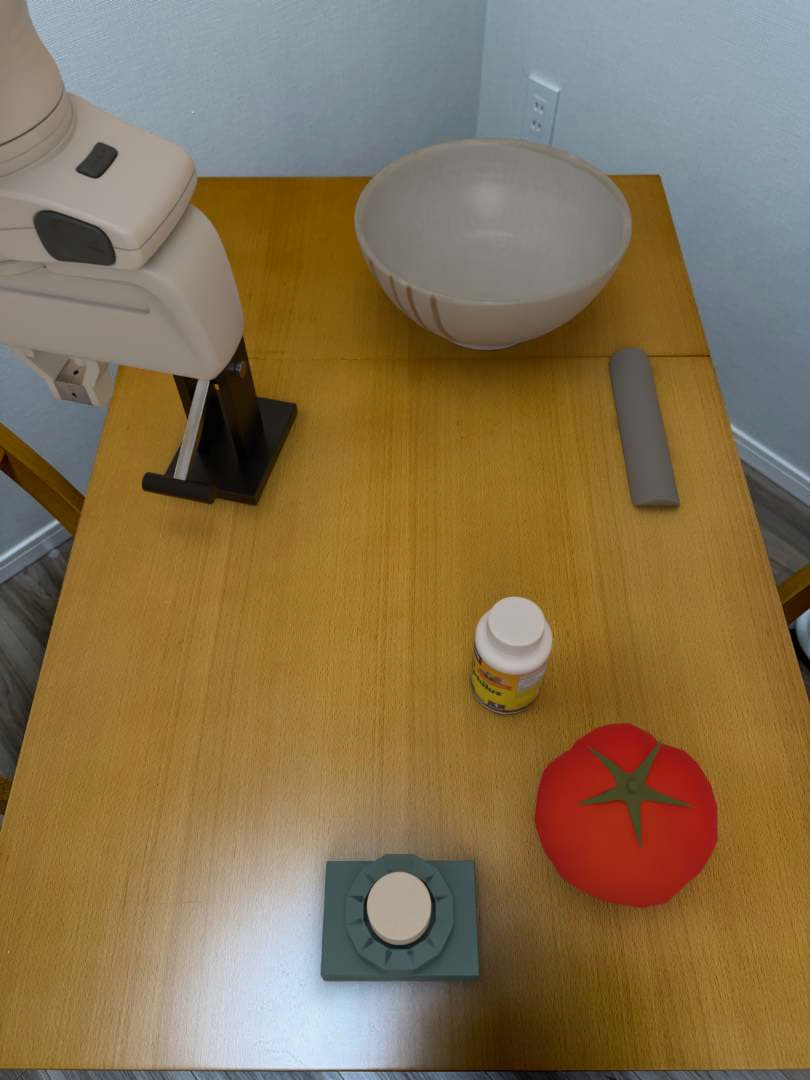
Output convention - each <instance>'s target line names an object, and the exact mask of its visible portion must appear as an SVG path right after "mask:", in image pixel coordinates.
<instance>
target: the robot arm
mask: <svg viewBox="0 0 810 1080" xmlns="http://www.w3.org/2000/svg"><path fill="white" fill-rule="evenodd" d="M64 82H65V81H64V80H63V76H62V74H61V72H60V69H59V67H58V65H57V62H56V61H55V59H54V57H53V56H52V54H51V52H50V51H49V50H48V48H47V47H46V45H45V44H44V42H43V41H42V39H41V37H40V35H39V34H38V32H37V30H36V27H35V25H34V24H33V21H32V17H31V15H30V9H29V6H28V1H27V0H0V345H4V346H8V348H9V350H10V352H11V353H12V355H13V356H14V357H15V358H16V359H18V360H19V361H20V362H21V363H23V364H24V366H26V367H28V368H29V369H30V370H31V371H32V372H34V373H35V374H36V375H37V376H38V377H39V378H41V379H44V381H45V383H46V385H47V387H48V389H49V391H50V393H51V395H52V397H53V398H54V400H59V401H60V400H61V401H68V402H73V403H78V404H83V405H88V406H93V407H98V408H104V407H106V406H107V405H108V403H109V401H110V400H111V397H112V396H113V395H114V392H115V382H114V380H113V377H112V374H111V372H110V370H109V366H110V364H112V365H119V366H123V367H128V368H129V367H130V368H134V369H135V368H136V369H141V370H146V371H151V372H152V371H153V372H159V373H162V374H169V375H173V374H174V375H180V376H186V377H191V378H196V379H201V380H212V379H214V378H215V377H217V376H218V375H219V374H220V373H221V372H222V370H223V369H224V368H225V367H226V366H227V364H228V363H229V362H230V360H231V358H232V357H233V355H234V353H235V351H236V349H237V347H238V345H239V343H240V340H241V338H242V335H243V334H244V331H245V318H244V311H243V306H242V302H241V298H240V294H239V291H238V287H237V283H236V280H235V277H234V273H233V270H232V267H231V264H230V261H229V257H228V255H227V252H226V250H225V247H224V243H223V241H222V239H221V237H220V235H219V232H218V231H217V229H216V228H215V226H214V224H213V222H212V221H211V220H210V219H209V218H208V217H207V215H206V214H204V212H202V211H201V210H200V209H199V208H198V207H196V206H195V205H194V204H192V203H190V202H191V200H192V197H193V195H194V193H195V191H196V188H197V186H198V172H197V168H196V164H195V161H194V159H193V157H192V155H191V154H190V153H189V152H188V151H187V150H186V149H185V148H184V147H182V146H181V145H180V144H178V143H176V142H173V141H171V140H168V139H167V138H164V137H162V136H160V135H157V134H154V133H152V132H151V131H148V130H145V129H143V128H141V127H139V126H136V125H134V124H132V123H130V122H127V121H125V120H124V119H121V118H119V117H117V116H115V115H113V114H111V113H110V112H108V111H105V110H103V109H102V108H100V107H98V106H96V105H94V104H93V103H91V102H89V101H88V100H86V99H84V98H83V97H81V96H79V95H77V94H75V93H72V92H69V91H67V88H66V86H65V83H64ZM243 336H244V335H243ZM70 357H71V358H70Z"/></svg>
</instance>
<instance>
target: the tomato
mask: <svg viewBox="0 0 810 1080" xmlns="http://www.w3.org/2000/svg"><path fill="white" fill-rule="evenodd" d="M541 773H542V774H541V776H540V781H539V785H538V789H537V794H536V801H535V809H534V816H533V822H534V826H535V829H536V833H537V837H538V839H539V842H540V845H541V848H542V851H543V852H544V854H545V855H546V857H547V859H548V860H549V861H550V863H551V864H552V866H553V867H554V869H555V870H556V872H557V873H558V874H559V876H560V877H561V878H562V879H564V880H565V881H566V882H567V883H569V884H570V885H571V886H572V887H574V888H575V889H576V890H579V891H581V892H582V893H585V894H587V895H588V896H591V897H593V898H596V899H597V900H599V901H600V902H604V903H608V904H609V903H610V904H616V905H621V906H628V907H634V908H639V909H640V908H642V909H644V908H648V907H653V906H659V905H663V904H667V903H668V902H669V901H670V900H671V899H672V898H673V897H675V895H677V894H678V893H679V892H680V891H681V890H682V889H683V888H684V887H686V885H688V884H689V883H690V882H691V881H692V880H693V879H694V878H696V877H697V876H698V875H699V874H700V873H702V871H703V870H704V868H705V866H706V865H707V863H708V861H709V860H710V858H711V857H712V854H713V852H714V850H715V847H716V845H717V843H718V840H719V839H718V833H719V831H718V803H717V800H716V797H715V794H714V791H713V787H712V784H711V782H710V780H709V779H708V778H707V776H706V774H705V772H704V770H703V769H702V768H701V766H700V764H699V762H698V761H696V759H694V758H693V757H692V756H691V755H690V754H689V753H687V751H686V750H684V749H681V748H678V747H675V746H672V745H668V744H666V743H663V742H662V740H660V741H658V740H657V738H655V737H654V736H653V734H651V733H650V732H649V731H646V730H645V729H642V728H641V727H638V726H636V725H635V724H632V723H630V722H618V723H617V722H615V723H614V722H613V723H609V724H605V725H601V726H597V727H595V728H594V729H591V731H589V732H587V733H586V734H584V735H583V736H581V737H580V738H578V739H576V740H575V741H574V743H573V745H572V746H571V747H570V749H568V750H566V751H564V752H562V753H561V754H559V756H557V757H556V758H555V759H554V760H552V761H551V762H550V763H549V764H548V765H547V766H546V767H545V768H544V770H543V771H542V772H541Z"/></svg>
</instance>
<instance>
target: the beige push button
mask: <svg viewBox="0 0 810 1080" xmlns="http://www.w3.org/2000/svg"><path fill="white" fill-rule="evenodd" d="M367 912H368V917H369V921H370V924H371V927H372V929H373V930H374V932H375V933H376V935H377V936H378V937H379V938H381V939H382V940H383V941H385V942H387V943H390V944H393V945H406V944H409V943H412V942H414V941H416V940H417V939H418V938H420V937H421V936H422V935H423V933H424V932H425V931H426V929H427V927H428V925H429V922H430V918H431V898H430V895H429V892H428V890H427V888H426V886H425V885H424V884H423V882H422V881H421V880H420V879H418V878H417V877H416V876H414V875H412V874H409V873H406V872H393V873H390V874H387V875H385V876H383V877H382V878H380V879H379V880H378V881H377V882H376V883H375V884H374V886H373V887H372V889H371V891H370V893H369V896H368V900H367Z"/></svg>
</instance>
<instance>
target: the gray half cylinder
mask: <svg viewBox="0 0 810 1080" xmlns="http://www.w3.org/2000/svg"><path fill="white" fill-rule="evenodd" d="M608 368H609V374H610V379H611V386H612V390H613V391H612V392H613V397H614V402H615V403H614V404H615V408H616V414H617V415H616V416H617V420H618V426H619V432H620V437H621V443H622V448H623V455H624V461H625V468H626V473H627V478H628V484H629V490H630V496H631V502H632V503H633V504H634V506H639V507H645V506H646V507H649V506H650V507H679V506H681V502H680V496H679V492H678V486H677V482H676V478H675V474H674V473H675V472H674V467H673V464H672V459H671V455H670V454H671V453H670V450H669V444H668V440H667V435H666V430H665V426H664V421H663V417H662V412H661V407H660V402H659V397H658V393H657V388H656V383H655V379H654V374H653V369H652V364H651V359H650V357H649V355H648V353H647V352H646V351H644V350H643V349H641V348H638V347H625V348H623V349H620V350H617V351H616V352H615V353H614V354H612V356H611V357H610V359H609V367H608Z"/></svg>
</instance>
